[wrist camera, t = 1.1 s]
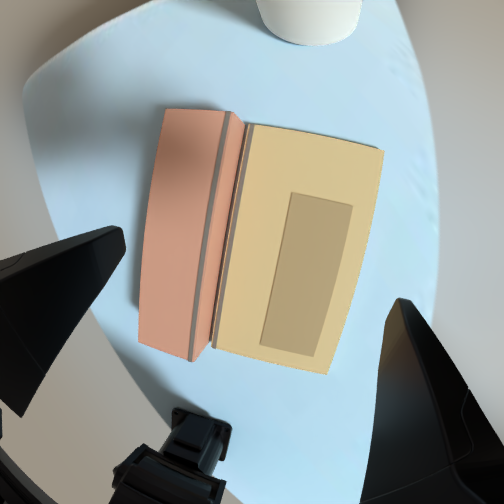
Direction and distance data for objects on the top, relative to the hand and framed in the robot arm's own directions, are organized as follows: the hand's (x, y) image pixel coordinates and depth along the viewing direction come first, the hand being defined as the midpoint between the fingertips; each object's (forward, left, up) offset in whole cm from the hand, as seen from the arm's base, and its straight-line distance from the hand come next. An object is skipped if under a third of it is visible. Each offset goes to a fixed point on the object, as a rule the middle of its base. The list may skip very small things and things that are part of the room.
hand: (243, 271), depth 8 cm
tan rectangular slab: (-2, -1, -13) cm, 13 cm away
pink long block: (-2, +7, -13) cm, 15 cm away
